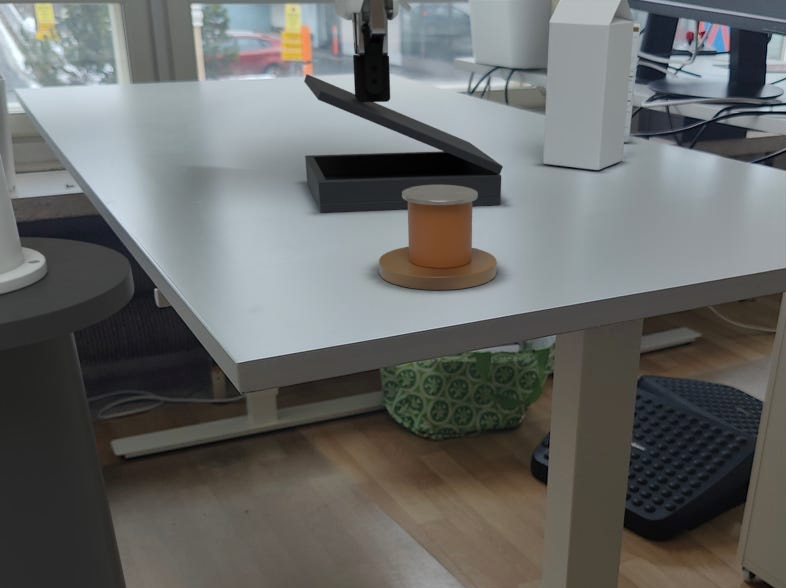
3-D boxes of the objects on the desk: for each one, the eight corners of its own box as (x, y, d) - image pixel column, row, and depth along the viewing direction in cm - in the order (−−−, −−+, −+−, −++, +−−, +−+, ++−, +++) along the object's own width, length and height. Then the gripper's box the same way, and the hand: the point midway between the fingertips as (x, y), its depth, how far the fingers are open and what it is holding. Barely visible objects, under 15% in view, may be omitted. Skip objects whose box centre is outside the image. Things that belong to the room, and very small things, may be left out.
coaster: (390, 293, 69) (389, 280, 68) (371, 259, 76) (370, 247, 76) (510, 286, 71) (510, 272, 70) (480, 253, 78) (480, 241, 78)
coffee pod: (411, 272, 70) (409, 202, 68) (397, 251, 75) (395, 186, 72) (484, 267, 71) (486, 199, 69) (467, 248, 76) (467, 183, 73)
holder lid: (317, 99, 85) (320, 90, 85) (303, 81, 96) (306, 73, 96) (500, 174, 92) (503, 166, 92) (467, 149, 104) (469, 142, 103)
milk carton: (598, 171, 109) (612, -19, 99) (542, 165, 112) (550, -20, 102) (622, 162, 114) (638, -20, 104) (568, 156, 117) (578, -21, 107)
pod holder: (320, 212, 90) (318, 182, 88) (307, 183, 101) (305, 155, 100) (500, 204, 94) (501, 175, 92) (468, 177, 105) (468, 150, 104)
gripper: (312, -122, 89) (325, 91, 98) (330, -134, 76) (343, 112, 85) (392, -119, 90) (397, 90, 100) (422, -130, 78) (425, 111, 87)
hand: (372, 100), depth 92 cm, fingers closed
